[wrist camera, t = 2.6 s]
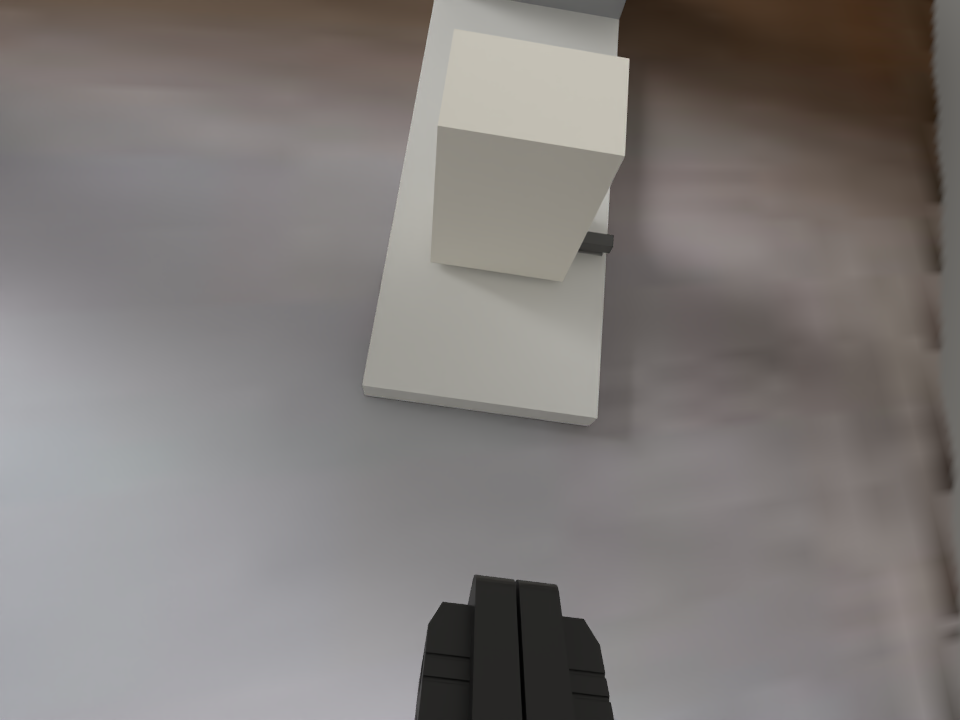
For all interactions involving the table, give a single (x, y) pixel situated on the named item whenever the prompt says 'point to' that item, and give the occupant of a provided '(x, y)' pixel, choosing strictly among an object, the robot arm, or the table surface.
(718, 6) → the table surface
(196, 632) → the table surface
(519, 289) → the base
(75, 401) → the table surface
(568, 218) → the block
